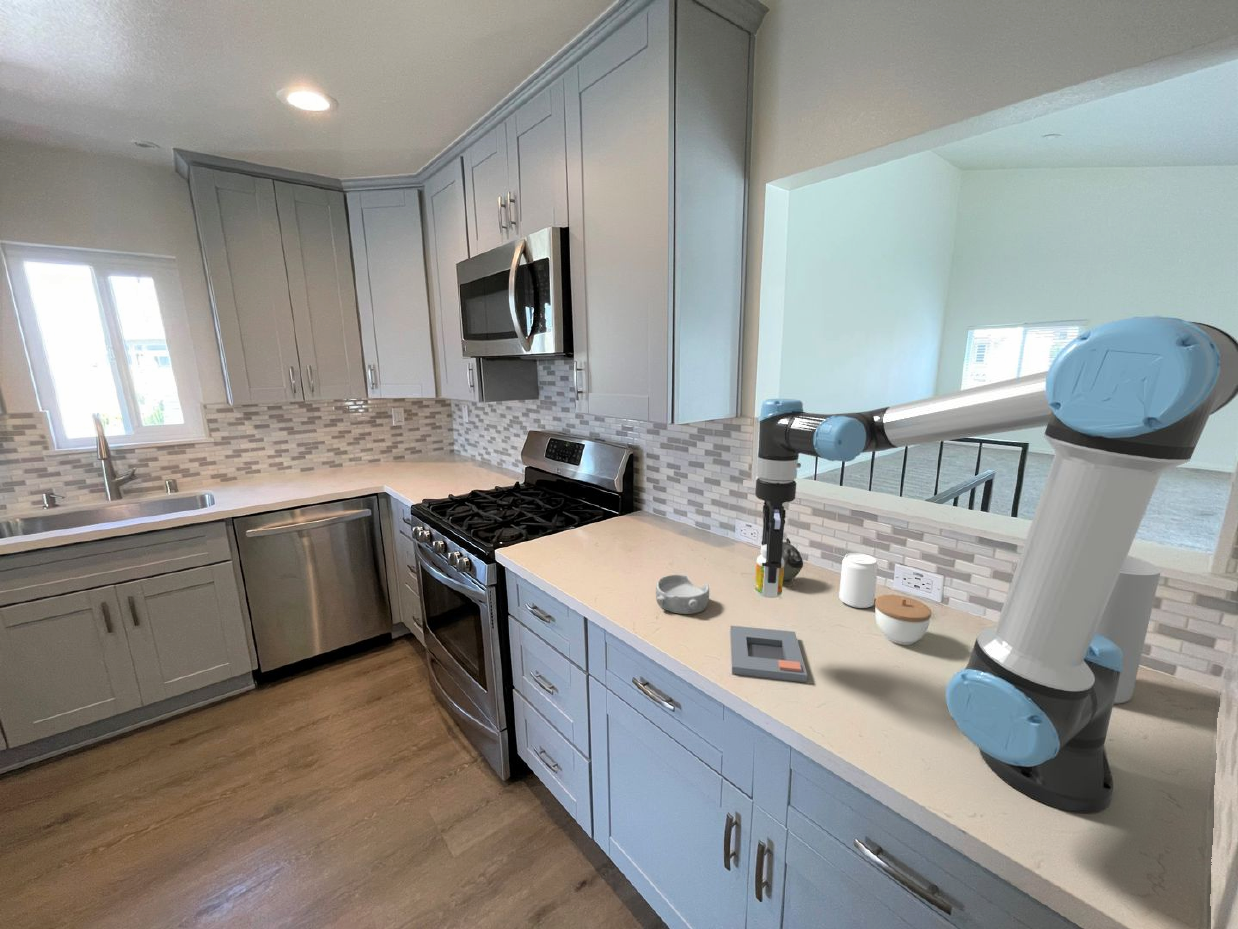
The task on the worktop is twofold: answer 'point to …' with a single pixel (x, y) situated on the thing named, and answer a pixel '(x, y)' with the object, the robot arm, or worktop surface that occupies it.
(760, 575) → the supplement bottle
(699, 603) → the dish
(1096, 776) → the robot arm
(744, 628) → the socket plate
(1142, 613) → the cylinder vase
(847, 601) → the beverage can
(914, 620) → the lidded jar
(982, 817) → the worktop surface
